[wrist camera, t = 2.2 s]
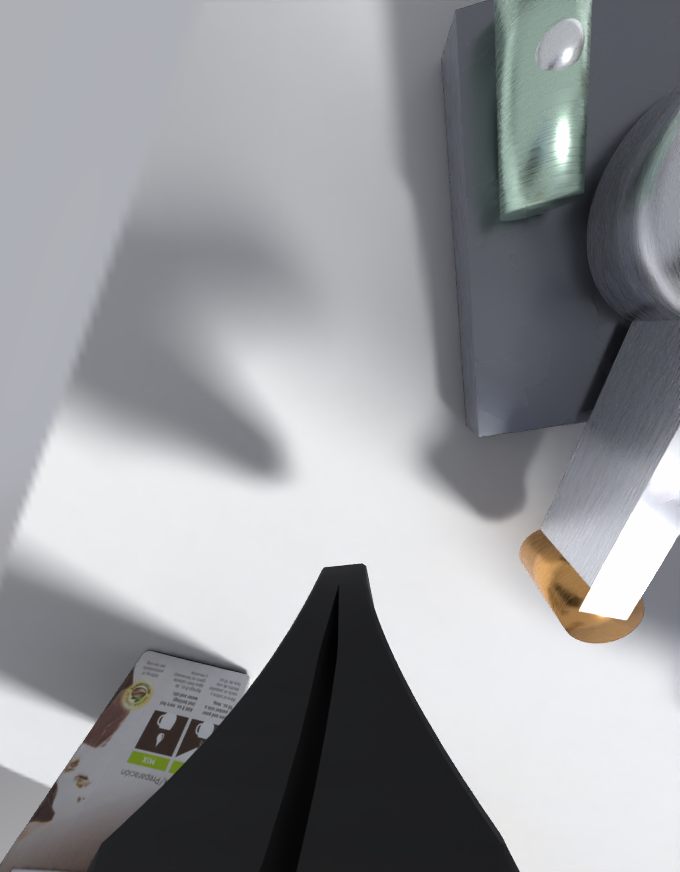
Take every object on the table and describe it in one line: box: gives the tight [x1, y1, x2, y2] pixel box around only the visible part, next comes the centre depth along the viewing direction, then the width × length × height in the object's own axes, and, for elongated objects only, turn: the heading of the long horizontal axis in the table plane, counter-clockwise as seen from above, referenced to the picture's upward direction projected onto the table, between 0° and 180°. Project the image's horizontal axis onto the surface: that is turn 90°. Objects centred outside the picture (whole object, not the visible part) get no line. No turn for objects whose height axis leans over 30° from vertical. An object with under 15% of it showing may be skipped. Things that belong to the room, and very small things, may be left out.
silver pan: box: [520, 84, 680, 643], centre depth 9 cm, size 15×6×3 cm, turn 171°
